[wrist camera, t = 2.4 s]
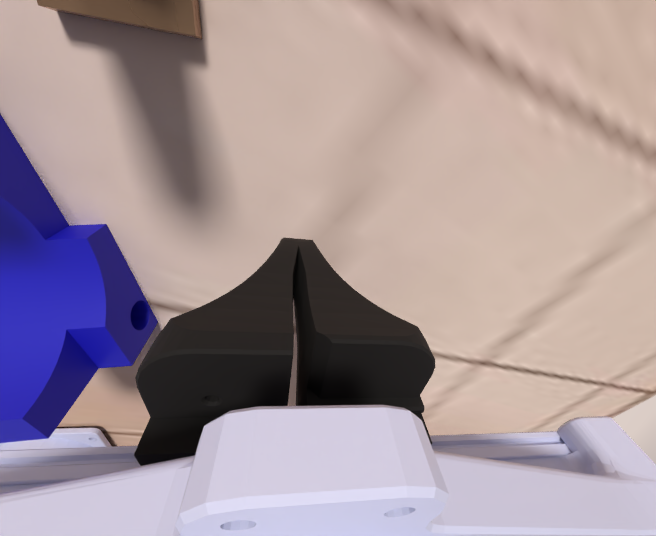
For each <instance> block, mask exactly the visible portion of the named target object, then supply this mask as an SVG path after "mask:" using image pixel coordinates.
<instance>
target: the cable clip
mask: <svg viewBox="0 0 656 536" xmlns="http://www.w3.org/2000/svg"><path fill="white" fill-rule="evenodd" d="M157 323H158V321H157V319H156V317H155V315H154V314H153V312H152V310H151V308H150V306H149V304H148V302H147V300H146V298H145V296H144V295H143V293H142V291H141V289H140V287H139V285H138V283H137V281H136V279H135V277H134V276H133V274H132V272H131V270H130V268H129V266H128V264H127V262H126V260H125V259H124V257H123V255H122V253H121V251H120V249H119V247H118V245H117V243H116V241H115V240H114V238H113V236H112V234H111V232H110V230H109V228H108V226H107V224H98V225H73V226H69V224H68V223H67V221H66V220H65V218H64V216H63V215H62V213H61V211H60V210H59V208H58V207H57V205H56V203H55V202H54V200H53V198H52V197H51V195H50V194H49V192H48V190H47V189H46V187H45V185H44V184H43V182H42V181H41V179H40V177H39V176H38V174H37V173H36V171H35V169H34V168H33V166H32V164H31V163H30V161H29V160H28V158H27V156H26V155H25V153H24V151H23V150H22V148H21V147H20V145H19V143H18V142H17V140H16V138H15V137H14V135H13V134H12V132H11V130H10V129H9V127H8V126H7V124H6V122H5V121H4V119H3V117H2V116H1V114H0V443H7V442H17V441H28V440H38V439H48V438H49V437H50V436H51V435H52V433H53V432H54V430H55V429H56V428H57V426H58V425H59V423H60V422H61V420H62V419H63V418H64V416H65V415H66V413H67V412H68V411H69V409H70V408H71V406H72V405H73V404H74V402H75V401H76V399H77V398H78V397H79V395H80V394H81V392H82V391H83V390H84V388H85V387H86V385H87V384H88V382H89V381H90V380H91V378H92V377H93V375H94V374H95V373H96V371H97V370H98V368H108V367H121V366H132V365H133V363H134V362H135V360H136V358H137V357H138V355H139V353H140V352H141V350H142V348H143V347H144V345H145V343H146V342H147V340H148V338H149V337H150V335H151V333H152V332H153V330H154V328H155V327H156V325H157Z"/></svg>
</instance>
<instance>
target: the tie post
mask: <svg viewBox="0 0 656 536" xmlns="http://www.w3.org/2000/svg"><path fill="white" fill-rule="evenodd" d="M37 2H38V5H39V6H42V7H46V8H49V9H52V10H55V11H60V12H65V13H70V14H76V15H81V16H86V17H91V18H96V19H102V20H107V21H112V22H117V23H122V24H128V25H133V26H138V27H143V28H148V29H154V30H159V31H164V32H169V33H174V34H179V35H185V36H190V37H195V38H200V39H202V34H201V24H200V13H199V2H198V0H37Z"/></svg>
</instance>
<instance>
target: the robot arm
mask: <svg viewBox="0 0 656 536" xmlns="http://www.w3.org/2000/svg"><path fill="white" fill-rule="evenodd" d="M293 298H294V306H295V318H296V330H297V387H296V406H287V405H288V396H289V387H290V378H291V369H292V359H293V339H294V331H293ZM434 369H435V358H434V356H433V354H432V352H431V350H430V348H429V346H428V344H427V342H426V340H425V338H424V336H423V335H422V333H421V331H420V330H419V328H418V327H417V326H415V325H413V324H411V323H409V322H406V321H404V320H402V319H400V318H398V317H396V316H394V315H392V314H390V313H389V312H387V311H385V310H383V309H382V308H380V307H378V306H377V305H375V304H373V303H372V302H370V301H369V300H368V299H366V298H365V297H363V296H362V295H361V294H359V293H358V292H357V291H355V290H354V289H353V288H352V287H351V286H350V285H348V284H347V283H346V282H345V281H344V280H343V279H342V278H341V277H340V276H339V275H338V274H337V273H336V272H335V271H334V270H333V268H332V267H331V266H330V265H329V263H328V262H327V261H326V259H325V258H324V257H323V255H322V254H321V252H320V251H319V249H318V248H317V246H316V245H315V243H314V242H313V240H305V239H293V238H283V239H281V241H280V243H279V245H278V246H277V248H276V249H275V251H274V252H273V253H272V255H271V256H270V257H269V258H268V259H267V261H266V262H265V263H264V264H263V265H262V266H261V267H260V268H259V269H258V270H257V271H256V272H255V273H254V274H253V275H252V276H250V277H249V278H248V279H247V280H246V281H244V282H243V283H242V284H240V285H239V286H237V287H236V288H234V289H233V290H231V291H230V292H228V293H227V294H225V295H223V296H221V297H219V298H218V299H216V300H214V301H212V302H210V303H208V304H206V305H204V306H201V307H199V308H197V309H194V310H192V311H189V312H187V313H184V314H182V315H179V316H177V317H174V318H171V319H170V320H169V322H168V323H167V325H166V326H165V327H164V329H163V330H162V331H161V332H160V334H159V335H158V337H157V338H156V340H155V341H154V343H153V344H152V346H151V348H150V350H149V351H148V353H147V355H146V357H145V358H144V360H143V362H142V364H141V365H140V367H139V369H138V372H137V375H136V383H137V388H138V390H139V392H140V395H141V397H142V399H143V401H144V403H145V406H146V408H147V410H148V412H149V414H150V417H151V418H150V420H149V422H148V424H147V427H146V429H145V431H144V433H143V435H142V438H141V440H140V442H139V444H138V446H116V447H112V446H111V444H110V443H109V442H108V440H107V439H106V437H105V436H104V434H103V433H102V432H101V430H100V429H98V428H56V429H55V430H54V432H53V433H52V435H51V436H50V437H49V438H48V439H38V440H28V441H17V442H7V443H0V536H656V464H655V463H654V462H653V461H652V460H651V459H650V458H649V457H648V456H647V455H646V454H645V452H643V450H642V449H641V448H640V447H639V446H638V445H637V444H636V443H635V442H634V441H633V440H632V439H631V438H630V437H629V436H628V435H627V433H626V432H625V431H624V430H623V429H622V428H621V427H620V426H619V425H618V424H617V423H616V422H615V421H614V420H613V419H612V418H611V417H607V416H602V417H578V418H574V419H571V420H569V421H567V422H565V423H564V424H563V425H562V426H560V427H559V428H558V430H557V431H550V432H521V433H492V434H463V435H434V436H430V435H429V433H428V430H427V427H426V425H425V422H424V419H423V417H422V414H421V413H423V412H424V405H423V402H422V400H421V397H420V394H421V392H422V391H423V389H424V387H425V386H426V384H427V382H428V381H429V379H430V378H431V376H432V374H433V371H434Z"/></svg>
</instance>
